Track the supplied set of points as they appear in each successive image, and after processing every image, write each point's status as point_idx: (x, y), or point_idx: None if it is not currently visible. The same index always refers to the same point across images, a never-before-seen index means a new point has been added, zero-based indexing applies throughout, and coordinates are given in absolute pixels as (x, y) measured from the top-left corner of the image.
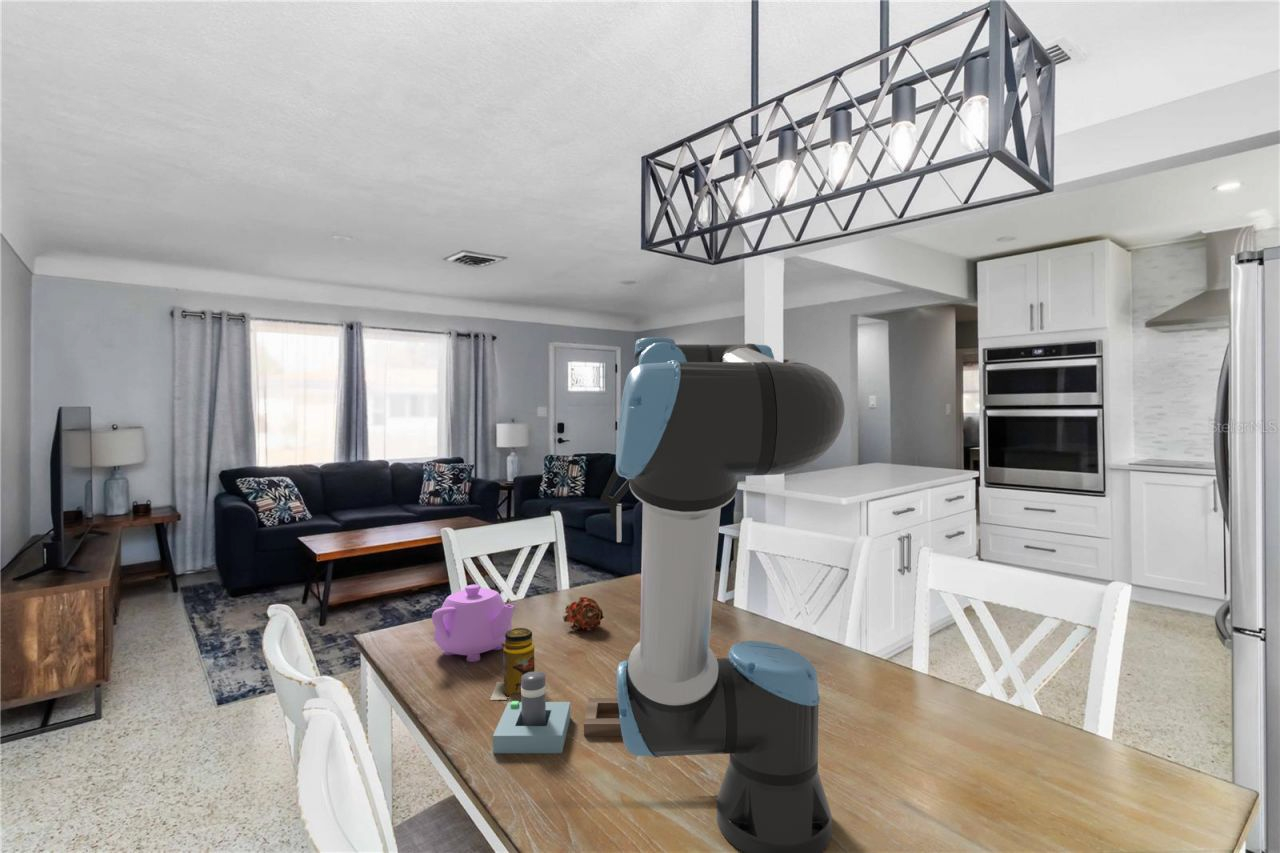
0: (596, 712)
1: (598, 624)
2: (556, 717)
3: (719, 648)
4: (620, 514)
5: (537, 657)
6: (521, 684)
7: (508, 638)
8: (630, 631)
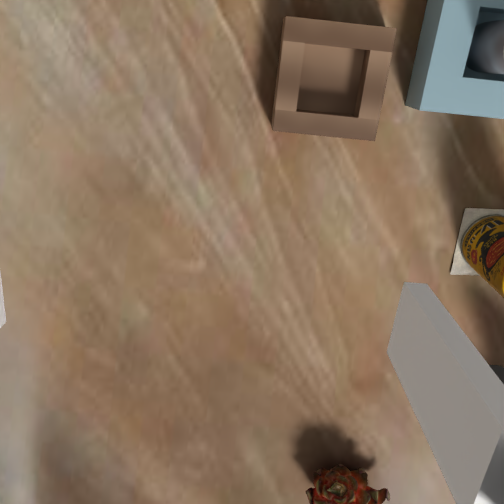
0: (365, 77)
1: (318, 472)
2: (455, 42)
3: (82, 376)
4: (472, 382)
5: None
6: None
7: None
8: (252, 459)
